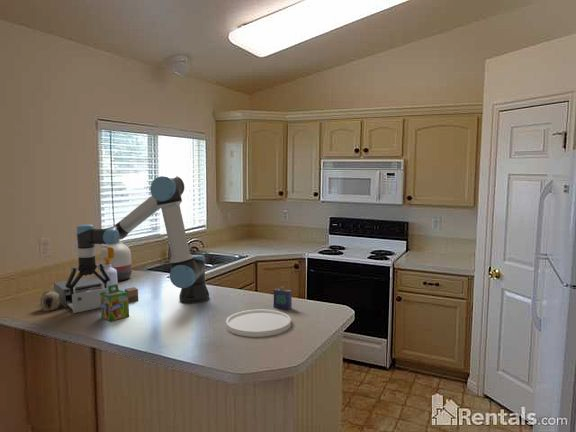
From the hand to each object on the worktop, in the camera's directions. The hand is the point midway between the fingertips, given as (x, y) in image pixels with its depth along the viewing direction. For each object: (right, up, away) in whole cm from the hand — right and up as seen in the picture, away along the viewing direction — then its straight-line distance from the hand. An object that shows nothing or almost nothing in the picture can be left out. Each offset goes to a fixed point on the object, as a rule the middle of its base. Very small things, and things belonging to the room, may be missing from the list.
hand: (89, 298), depth 217 cm
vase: (-7, +2, +53) cm, 54 cm away
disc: (0, +2, 0) cm, 2 cm away
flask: (+96, -4, -6) cm, 96 cm away
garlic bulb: (-16, -5, -5) cm, 17 cm away
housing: (-10, -3, +11) cm, 15 cm away
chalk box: (+20, -6, -17) cm, 26 cm away
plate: (+86, -7, -28) cm, 90 cm away
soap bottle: (-3, -1, +31) cm, 31 cm away
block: (+18, -3, +9) cm, 20 cm away
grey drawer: (-1, -3, +1) cm, 4 cm away
